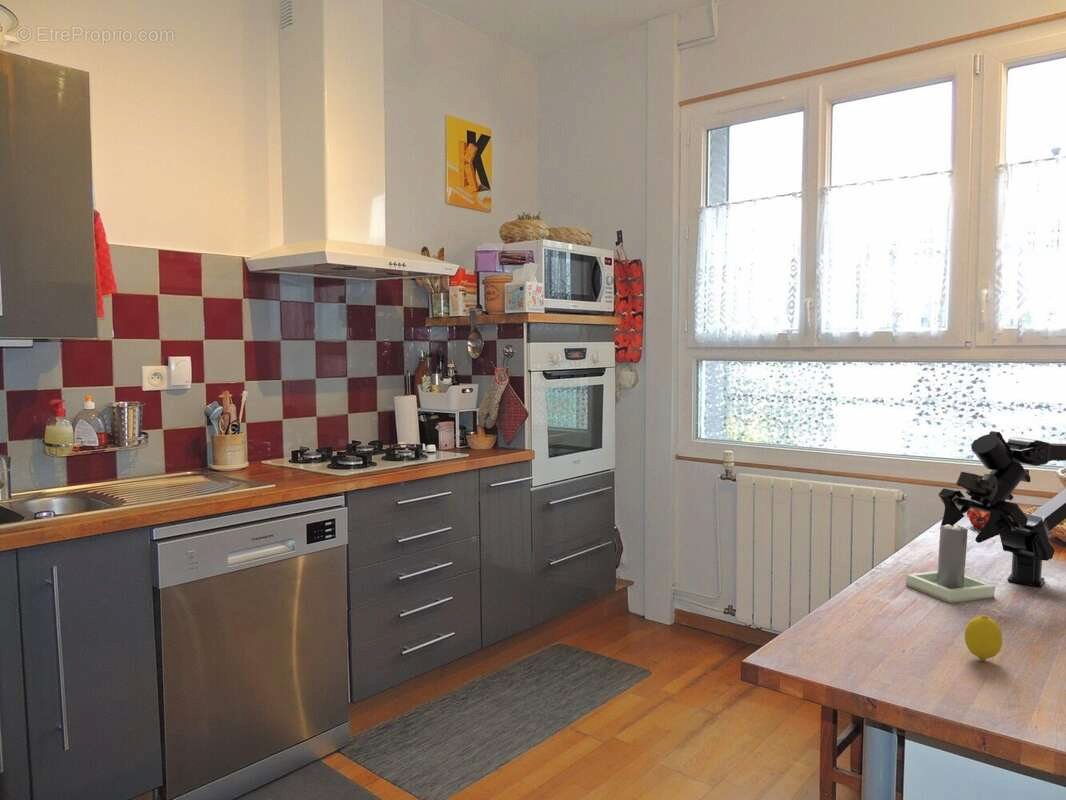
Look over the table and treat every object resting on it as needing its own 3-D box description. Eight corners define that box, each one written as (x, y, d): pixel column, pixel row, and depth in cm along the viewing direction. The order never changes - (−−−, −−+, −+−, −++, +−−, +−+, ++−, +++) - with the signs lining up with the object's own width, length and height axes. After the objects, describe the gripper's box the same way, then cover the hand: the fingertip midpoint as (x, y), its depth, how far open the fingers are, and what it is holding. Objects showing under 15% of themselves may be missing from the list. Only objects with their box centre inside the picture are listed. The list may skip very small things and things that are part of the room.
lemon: (1006, 668, 127) (1009, 622, 126) (970, 665, 128) (972, 619, 127) (993, 655, 132) (995, 610, 131) (959, 652, 133) (961, 608, 132)
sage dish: (948, 580, 173) (948, 569, 172) (994, 597, 161) (995, 586, 161) (906, 585, 169) (906, 574, 169) (950, 603, 158) (950, 591, 157)
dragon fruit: (990, 529, 225) (982, 543, 216) (964, 510, 228) (955, 523, 219) (1010, 510, 220) (1003, 523, 211) (984, 490, 224) (975, 503, 215)
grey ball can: (939, 582, 169) (943, 521, 168) (965, 588, 166) (970, 525, 164) (934, 588, 165) (938, 525, 164) (960, 594, 161) (965, 529, 160)
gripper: (946, 453, 174) (905, 503, 171) (1020, 466, 156) (976, 522, 154) (971, 484, 177) (932, 534, 174) (1046, 501, 159) (1004, 556, 157)
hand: (958, 536), depth 165 cm, fingers open, 9 cm apart
